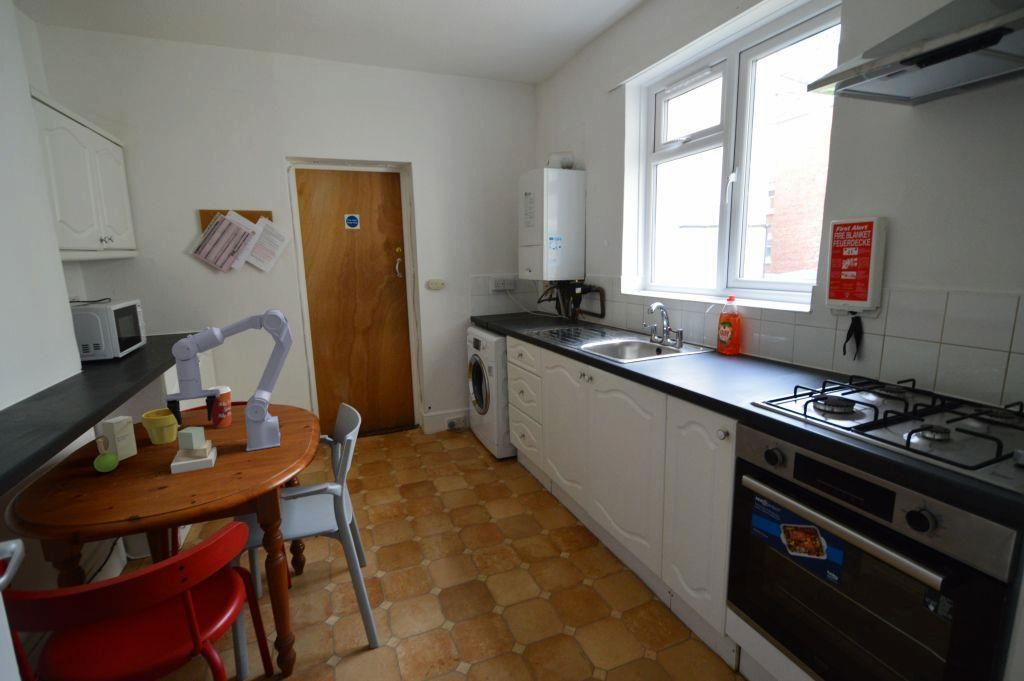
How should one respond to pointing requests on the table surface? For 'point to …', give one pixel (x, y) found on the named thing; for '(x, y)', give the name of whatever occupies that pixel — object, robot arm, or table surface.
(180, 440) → the sage block
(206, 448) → the beech top block
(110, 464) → the snail figurine
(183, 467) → the grey base block
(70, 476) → the table surface
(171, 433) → the plant pot
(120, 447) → the skincare box
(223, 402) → the paper cup
